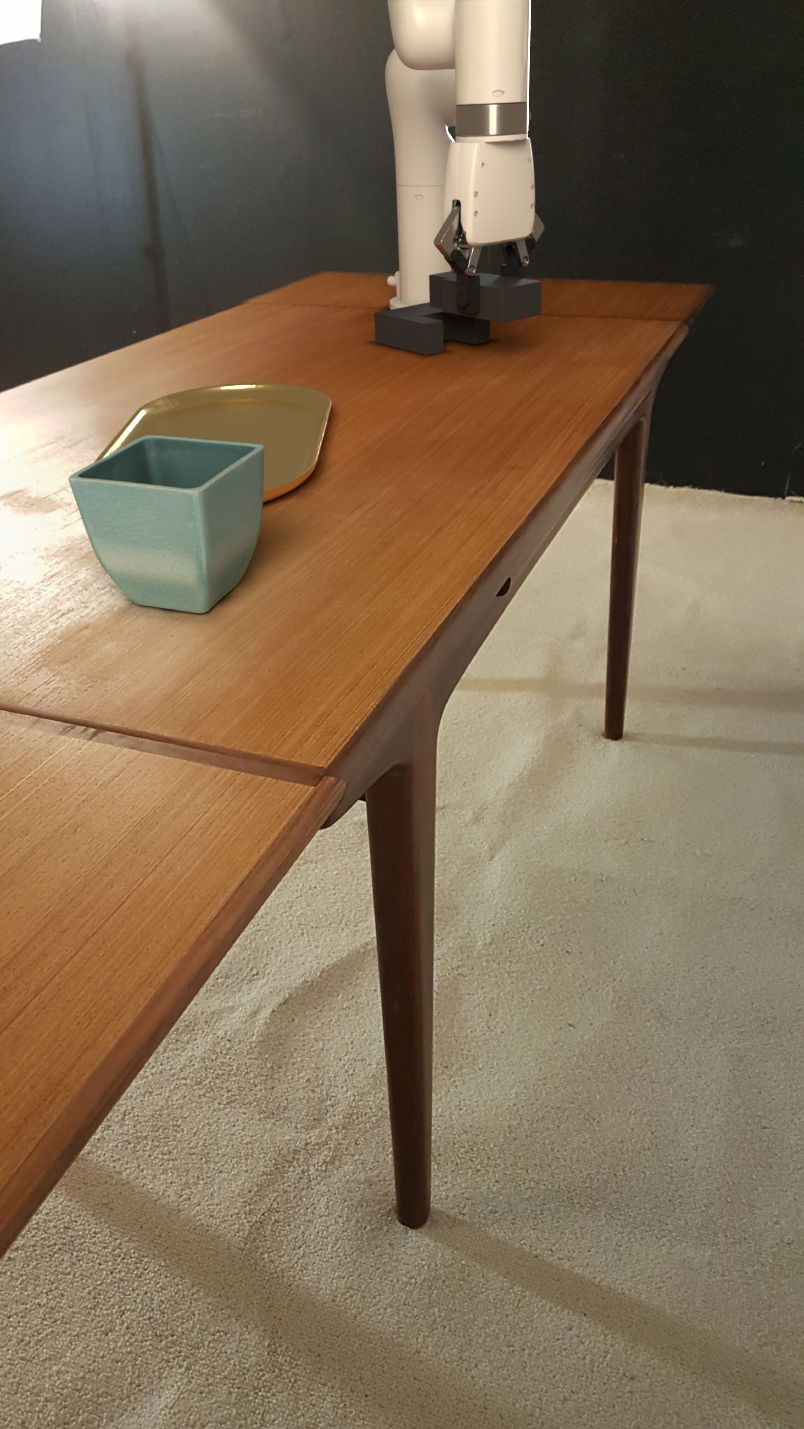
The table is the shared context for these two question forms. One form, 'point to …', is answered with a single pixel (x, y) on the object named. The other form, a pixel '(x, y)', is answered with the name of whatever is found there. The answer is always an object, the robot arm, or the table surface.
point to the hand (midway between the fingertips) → (490, 306)
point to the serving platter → (243, 425)
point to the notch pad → (427, 328)
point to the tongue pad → (489, 296)
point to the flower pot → (174, 517)
